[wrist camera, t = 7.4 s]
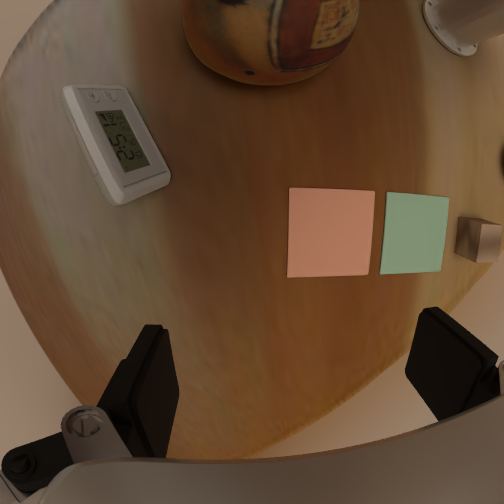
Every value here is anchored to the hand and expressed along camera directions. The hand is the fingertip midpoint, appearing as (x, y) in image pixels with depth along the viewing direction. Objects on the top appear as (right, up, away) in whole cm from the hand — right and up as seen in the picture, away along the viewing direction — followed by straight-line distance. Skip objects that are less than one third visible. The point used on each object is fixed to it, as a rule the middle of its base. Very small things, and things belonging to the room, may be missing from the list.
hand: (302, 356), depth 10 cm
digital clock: (-18, +18, +25) cm, 36 cm away
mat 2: (+23, +6, +30) cm, 38 cm away
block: (+35, +6, +30) cm, 47 cm away
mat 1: (+9, +6, +29) cm, 31 cm away
